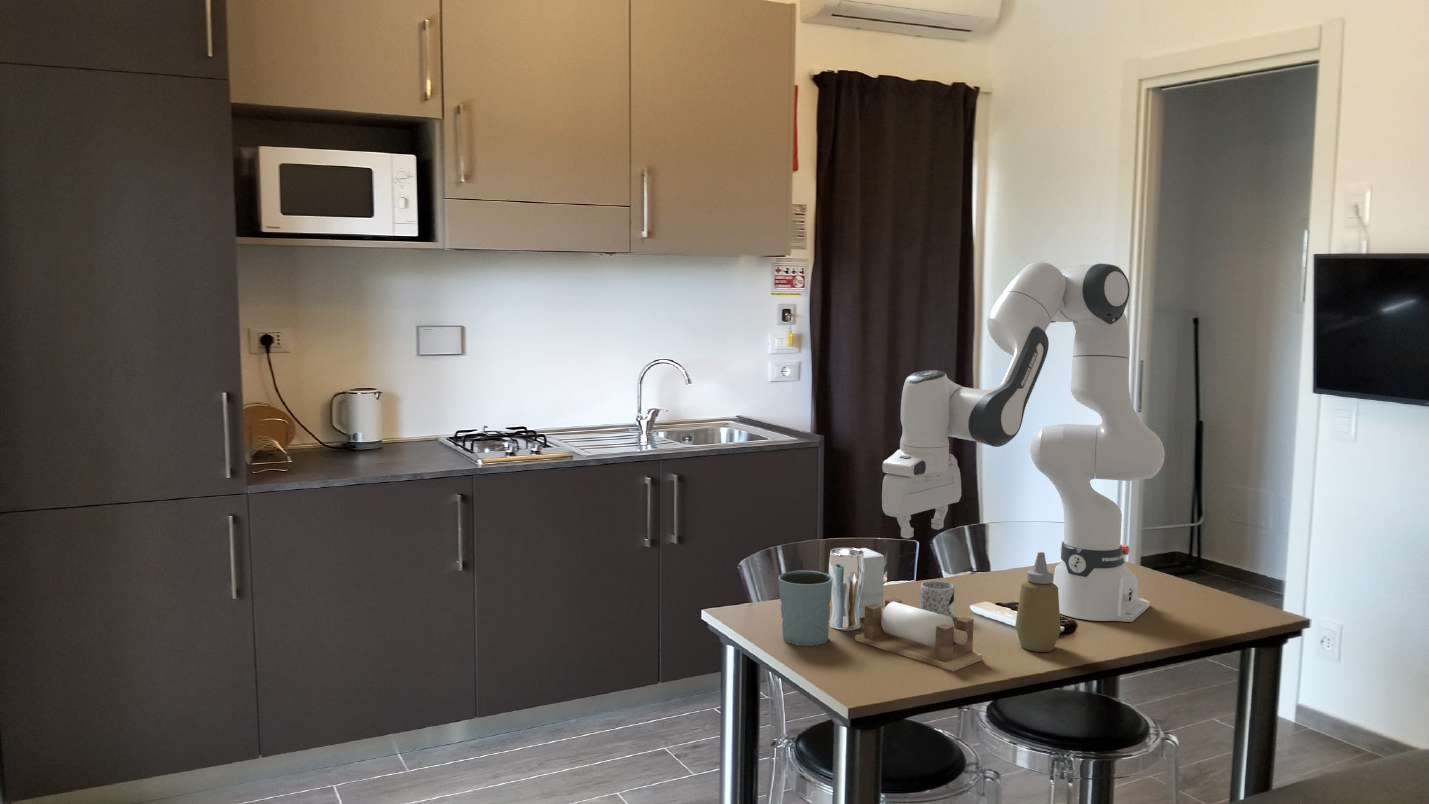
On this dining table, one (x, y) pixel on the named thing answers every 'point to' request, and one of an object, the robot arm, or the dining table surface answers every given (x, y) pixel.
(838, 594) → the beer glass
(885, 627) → the paper roll
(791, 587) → the embossed teal cup
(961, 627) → the roll holder
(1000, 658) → the dining table surface
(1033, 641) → the squeeze bottle
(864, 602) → the supplement box
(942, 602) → the mug
